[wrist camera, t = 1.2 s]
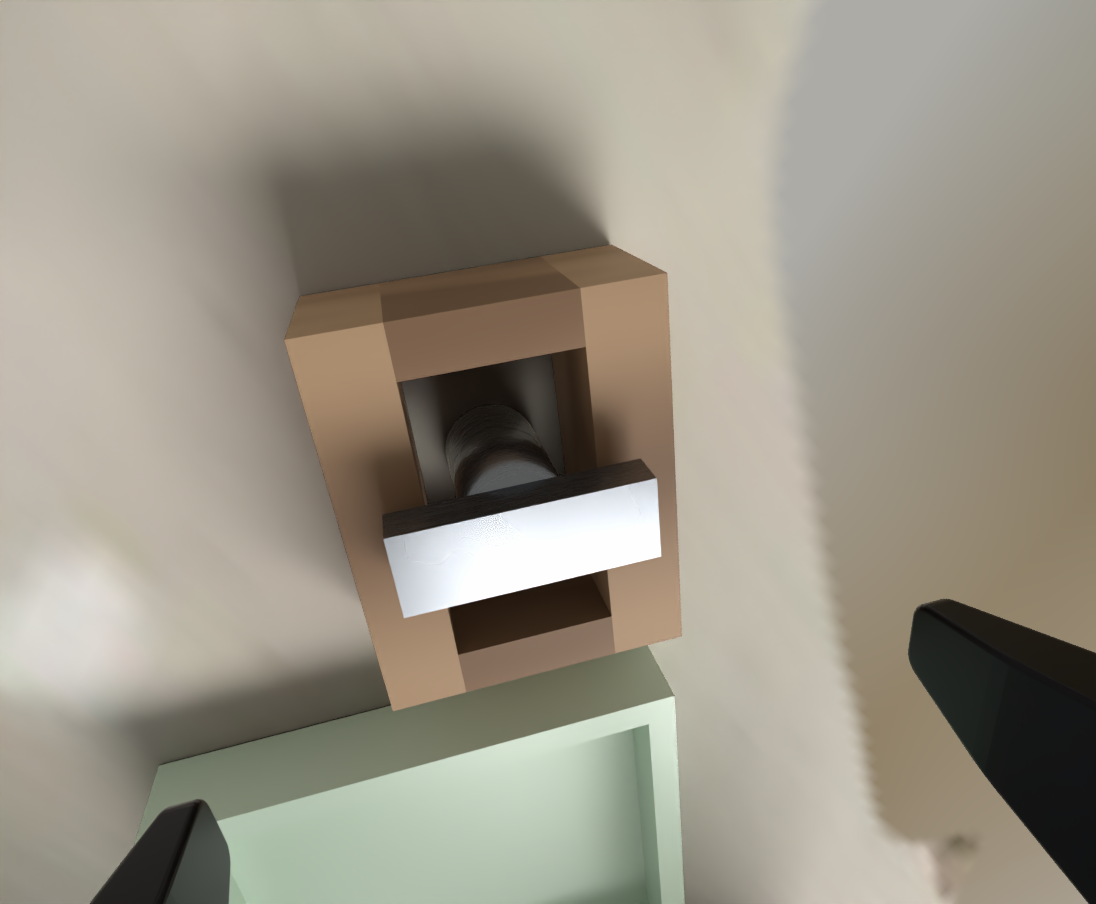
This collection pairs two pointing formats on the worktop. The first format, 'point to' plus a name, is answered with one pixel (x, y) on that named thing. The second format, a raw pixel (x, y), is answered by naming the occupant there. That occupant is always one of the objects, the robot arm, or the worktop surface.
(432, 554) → the grey t-shaped knob
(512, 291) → the collar
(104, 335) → the worktop surface
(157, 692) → the worktop surface
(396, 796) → the tray
